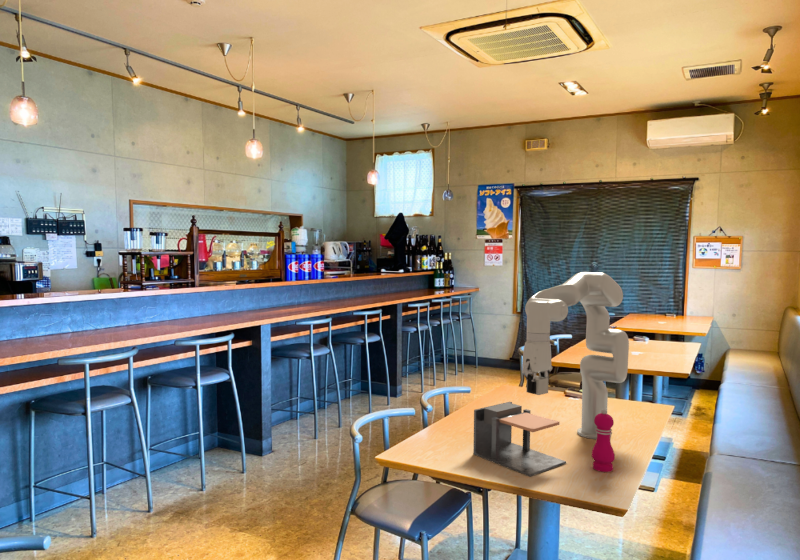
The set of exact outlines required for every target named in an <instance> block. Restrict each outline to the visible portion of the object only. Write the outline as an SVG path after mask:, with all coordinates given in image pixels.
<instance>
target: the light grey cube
mask: <svg viewBox="0 0 800 560" xmlns="http://www.w3.org/2000/svg"><path fill="white" fill-rule="evenodd" d="M535 382H536V394H535V395H537V396H541V395H545V394H549V377H548V378H545V377H540V376H539V375H536V378H535Z"/></svg>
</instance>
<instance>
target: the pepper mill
mask: <svg viewBox="0 0 800 560" xmlns="http://www.w3.org/2000/svg"><path fill="white" fill-rule="evenodd" d="M601 412H602V413H600V414H598V415H596V417H595V419H594V423H595V425H596V426H597V427H596V432H597V439H596V441H595V444H594V445H593V448H592V451H591V458H592V459H593V462H592V468H593V469H594V470H595V471H596V472H600V473H610V472H613V471H614V464H613V462H614V461H615V455H616V454H615V451H614V448H613V446H612V443H611V437H610V434H611V435H612V433H613V432H612V431H613V429H612V428H613V427H614V421H615V420H614V418H613V416H612V415H610V414H608V409H607V410H606V409H602V410H601ZM606 413H607V414H606Z"/></svg>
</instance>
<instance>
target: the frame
mask: <svg viewBox="0 0 800 560" xmlns="http://www.w3.org/2000/svg"><path fill="white" fill-rule="evenodd" d="M505 403H512V404H513V402H512V401H507V402H503V403H497V404H494V405H489V406H485V407H481V408H477V409H474V410H473V452H472V453H473V455H474V456H476V457H479V458H482V459H483V460H486V461H489V462H491V463H493V464H497V465H499V466H501V467H504V468H507V469H510V470H512V471H515V472H517V473H520V474H523V475H525V476H527V477H529V478H530V477H533V476H536V475H538V474H541V473H543V472H547V471H549V470H552V469H556V468H558V467H561V466H563V465H566V464H567V461H566V460H564V459H560V458H558V457H554V456H551V455H549V454H545V453H542V452H540V451H537V450H534V449H531V432H530V431H527V430H523V429H522V445H520V444H517V443H514V442H512V429H513V428H512V427H513V426H511V425H507V424H505V425H501V426H499V421H500V419H503V418H500V419H499V418H497V417H492V425H490V424H487V423H484V408H487V407H491V406H496V405H500V404H505ZM522 411H523V412H522V413H520V414H523V413H530V414H531V410H530V409H527V408H526V409H523V410H522ZM516 415H519V414H516ZM512 416H515V415H512ZM508 417H511V416H508ZM504 418H507V417H504Z"/></svg>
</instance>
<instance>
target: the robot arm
mask: <svg viewBox="0 0 800 560" xmlns="http://www.w3.org/2000/svg"><path fill="white" fill-rule="evenodd" d="M623 299H624V293H623V289H622V287H621V286H620V285H619V283H618V282H616V281H615V280H614V279H613V277H611V276H610V275H609V274H607V273H605V272H598V271H597V272H591V271H581V272H577V273H576V274H574V275H572V276H571V277H570V278H569V279H567V280H566V281H564V283H561V284H560V285H556V286H552V287H550V288H546V289H542V290H540V291H538V292H536V293H534V295H532V296H530V298H529V299H528V300H527V302H526V304H525V307H524V308H525V309H524V311H525V314H526V341H525V343H524V345H523V346H524V347H523V353H522V354H523V355H522V363H521V364H522V366H521V367H522V370H521V373H522V375H523V376H524V378H525V379H526V393H528V394H532V395H536V382H535V378H536V376H537V374H538V376H540V377H545V378H548V379H549V375H550V373H551V371H552V370H553V368H554V367H553V366H552V347H551V341H550V339H551V322H562V321H563V320H565V319H566V318H567V316H568V313H569V307H571V306H575V305H576V304H578V303H579V302H580V304H581V305H582V306H583V309H584V311H585V314H586V315H585V316H586V330H585V332H586V333H585V346H586V348H587V349H588V350H589V351H590V352H591V351H592V352H597V353H603V354H611V355H612V356H606V355H599V354H598V355H597V354H587V355H585V356H583V357H582V358H581V359H580V363H579V368H580V374H581V384H582V385H581V388H582V390H581V394H582V395H581V427H579V428H578V429H577V432H576V433H577V435H579V436H580V437H582V438H585V439H592V440H597V432H596V427H597V426H596V425H595V423H594V419H595V417H596V415H598V414H600V413H602V412H601V410H602V409H606V410H607V411H608V398H609V397H608V396H609V392H608V388H607V385H606V383H605V382H607V383H614V384H615V383H616V384H621V383H623V382H625V380H626V379H627V376H628V372H629V371H628V370H629V349H630V340H629V336H628V334H627V333H626V331H624V330H621V329H616V328H610V321H611V319H610V318H611V317H610V313H609V311H608V309H607V308H608V307H611V308H614V307H615V308H616V307H618V306H619V305H620V304H622V301H623ZM606 414H608V412H607V413H606ZM611 437H612V433H611V434H610V438H611Z"/></svg>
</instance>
